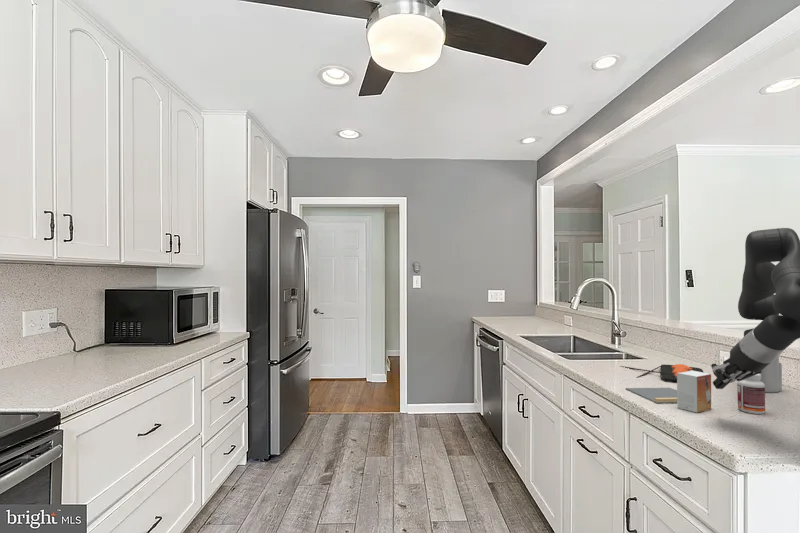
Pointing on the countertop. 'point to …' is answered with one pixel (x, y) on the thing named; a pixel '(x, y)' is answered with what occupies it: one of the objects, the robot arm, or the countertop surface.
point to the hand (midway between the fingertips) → (716, 386)
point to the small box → (694, 391)
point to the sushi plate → (670, 371)
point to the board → (657, 394)
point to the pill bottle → (751, 395)
